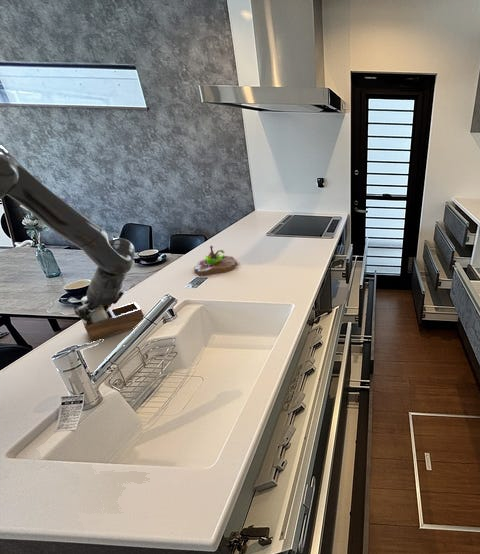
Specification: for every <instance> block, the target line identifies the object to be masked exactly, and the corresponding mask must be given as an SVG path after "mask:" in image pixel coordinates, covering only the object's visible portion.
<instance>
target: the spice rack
mask: <svg viewBox="0 0 480 554" xmlns="http://www.w3.org/2000/svg"><path fill="white" fill-rule="evenodd" d="M106 313H107V315H108V317H109V319H106V320H103V321H100V322H97V323H94V324H93V323H92V321H91V319H90V320H89V321H87V322H86V321H84V320H83V319H81V320H82V324H83V327H84V329H85V331H86V333H87V335H88V337H89V339H90V341H91V343H94V342H93V341H95V342H97V341H96V340H98V341H100V340H99V339H101V340H103V339H107V338H109V337H112V336H114V335H117V334H120V333H123V332H126V331H130V330H132V329H134V328H136V327H135V326H136V325H137V324H138V323H139V322H140V321H141V320H142V319H143V317H144V318H145V315H144V313H143V310H142V308H141V307H140V305H139V304H138V303H137V301H133V302H130V303H127V304H123V305H121V306H117V307H114V308H111V309H108V310H107V312H106Z"/></svg>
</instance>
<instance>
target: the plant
mask: <svg viewBox="0 0 480 554" xmlns="http://www.w3.org/2000/svg"><path fill="white" fill-rule="evenodd" d="M209 248H210V252H209V253H208V255H205V256H204V257H205V258H204V259H201V260H199V261H198V262H196V266H194V267H193V270H194V273H195V274H197V275H198V276H209V275H214V274H219V273H220V274H221V273H226V272H229V271H232V270H235V269H236V266H237V265H238V263H237V260H236V258H235V257H234V256H232V255H225V251H224V250H223V249H222V250H221V249H220V250H217V251H216V252H214V250H213V248H214V246H213V245H209ZM220 253H222V255H221V254H220Z"/></svg>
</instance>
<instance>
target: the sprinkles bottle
mask: <svg viewBox="0 0 480 554" xmlns="http://www.w3.org/2000/svg"><path fill="white" fill-rule="evenodd" d="M86 301H87V295H85V296H83V297H82V298H81V299H80V302H81V304H82V305H84V304H85V302H86ZM87 311H88V310H87ZM88 312H89V311H88ZM90 319H91V321H92V323H93V324H94V323H97V322H100V321H103V320H106V319H109V317H108V315H107V313H106V311H105V309H104V307H103V306H102V307H100V308H99V309H98V310H97V311H96V312H95V313H93V314H92V315H91V318H90Z"/></svg>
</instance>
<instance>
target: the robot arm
mask: <svg viewBox="0 0 480 554" xmlns="http://www.w3.org/2000/svg"><path fill="white" fill-rule="evenodd" d="M5 196H8V197H9V198H10V199H12V200H13V201H15V202H17V203H18V204H20V205H21V206H22V207H24V208H25V209H26V210H27V211H29V212H31V214H32V215H33V216H35V217H36V218H37V219H38V220H39V221H41V222H42V223H43V224H44V225H45V226H46V227H48V228H49V229H50V230H51V231H53V232H54V233H55V234H57V235H58V236H60V237H62V238H63V239H64V240H66V241H68V242H69V243H71V244H72V245H74V246H76V247H78V248H80V250H82V251H83V253H84V254H85V255H86V256H87V257H88V258H89V259H90V261H92V262H93V263H94V264H95V265H96V266H97V268H96V269H95V272H94V275H93V277H91V279H90V282H89V285H88V288H87V290H86V296H87V301H86V302H85V304H84V305H83V304H82V305H78V304H77V305H75V306H73V310H74V314H75V315H76V316H77V317H79V318H80V319H81V320H82V319H83V320H84V321H86V322H87V321H89V320H90V318H91V315H92V314H93V313H95V312H96V311H97V310H98V309H99V308H100V307H102V306H103V307H104V309H105V311H106V312H107V310H109V308H111V307H112V305H116V304H117V303H118V302H119V301H120V299H121V298H122V297H123V295H124V294H125V293H124V292H123V291H122V288H123V283H124V281H125V279H126V276H127V274H128V273H129V272H130V271H131V269H132V267H133V265H134V264H133V263H134V257H135V254H136V253H135V252H136V248H135V245H134V243H132V242H131V241H130V240H128V239H126V238H123V237H114V238H111V239H109V234H108V233H107V231H106V230H105V229H104V228H102V227H101V226H100V225H98V224H97V223H95V222H94V221H93V220H91V219H90V218H89V217H87V216H86V215H84V214H83V213H81V212H80V211H79V210H77V209H76V208H75V207H73V206H72V205H71V204H69V203H67V202H66V201H65V200H63V199H62V198H60V196H58V195H57V194H56V193H54V192H53V191H51V190H50V189H49V188H48V187H47V186H45V184H43V183H42V182H40V181H39V180H38V179H37V178H36V177H35V176H34V175H32V174H31V172H29V171H28V169H26V168H25V167H24V166H23V165H22V164H21V163H20V162H19V161H18V160H17V159H16V158H15V157H14V156H13V155H12V154H11V153H10V151H8V149H5V148H4V146H2V145H0V200H1V199H3V198H4V197H5ZM87 310H88V311H89V312H88V311H87Z"/></svg>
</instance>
